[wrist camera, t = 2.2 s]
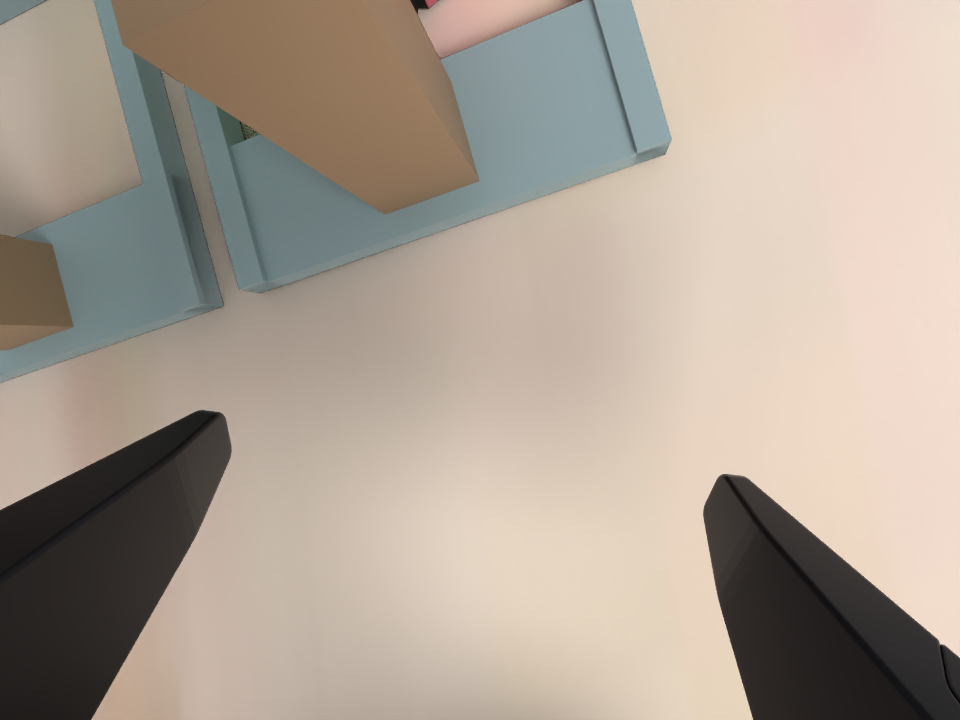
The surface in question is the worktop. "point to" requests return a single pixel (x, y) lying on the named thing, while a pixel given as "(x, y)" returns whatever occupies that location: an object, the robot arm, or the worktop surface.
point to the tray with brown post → (109, 241)
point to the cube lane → (512, 124)
